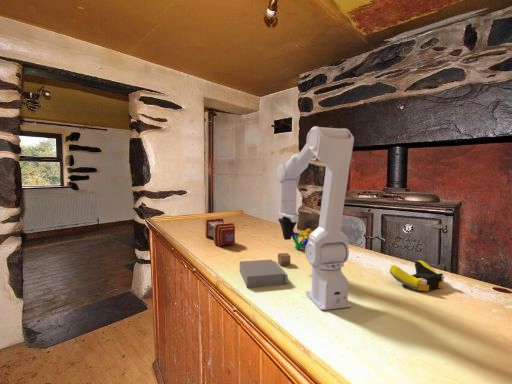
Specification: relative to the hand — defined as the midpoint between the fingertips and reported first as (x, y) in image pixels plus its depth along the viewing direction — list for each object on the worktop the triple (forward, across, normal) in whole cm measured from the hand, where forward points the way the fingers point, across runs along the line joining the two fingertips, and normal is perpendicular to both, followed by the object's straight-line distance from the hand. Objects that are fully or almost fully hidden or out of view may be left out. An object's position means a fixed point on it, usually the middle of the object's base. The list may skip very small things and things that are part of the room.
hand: (287, 239), depth 90 cm
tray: (+10, -7, +10) cm, 15 cm away
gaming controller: (+10, -21, -34) cm, 41 cm away
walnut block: (+10, +3, 0) cm, 10 cm away
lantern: (+10, +40, +20) cm, 46 cm away
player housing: (+10, -7, +11) cm, 16 cm away
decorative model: (+10, +20, -16) cm, 28 cm away
